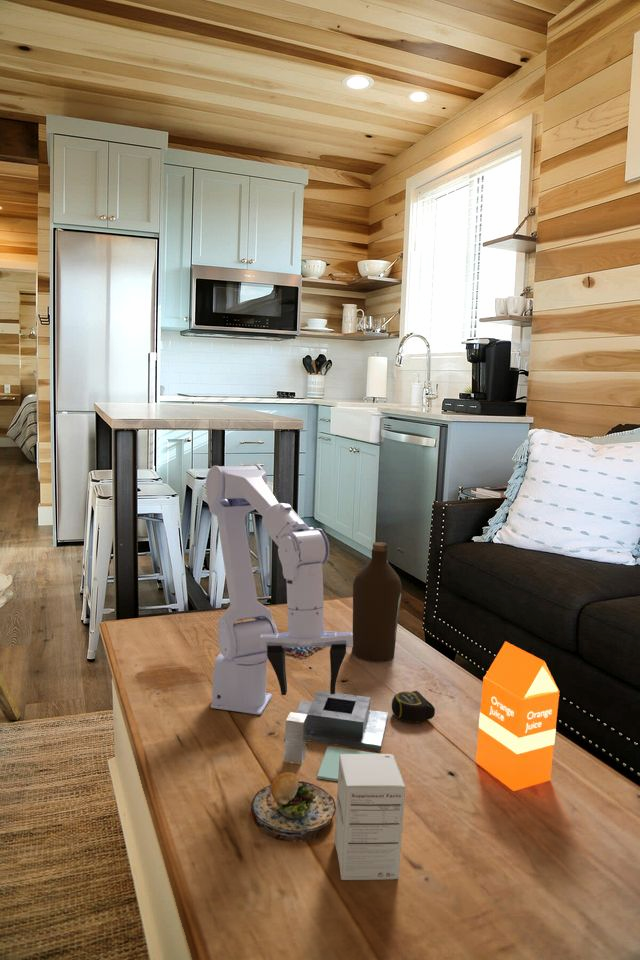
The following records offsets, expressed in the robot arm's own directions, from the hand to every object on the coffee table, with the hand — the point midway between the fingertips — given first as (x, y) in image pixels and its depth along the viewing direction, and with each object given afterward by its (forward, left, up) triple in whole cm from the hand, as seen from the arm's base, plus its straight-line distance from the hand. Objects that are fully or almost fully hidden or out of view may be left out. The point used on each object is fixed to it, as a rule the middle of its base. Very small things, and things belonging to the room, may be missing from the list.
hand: (308, 692), depth 111 cm
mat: (+8, -1, -11) cm, 13 cm away
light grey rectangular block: (-1, -1, -11) cm, 11 cm away
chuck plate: (+4, +11, -11) cm, 16 cm away
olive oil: (+6, +46, -11) cm, 48 cm away
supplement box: (+13, -22, -11) cm, 28 cm away
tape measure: (+16, +19, -11) cm, 27 cm away
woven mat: (-11, +45, -12) cm, 48 cm away
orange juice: (+33, +5, -11) cm, 35 cm away
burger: (+2, -15, -11) cm, 19 cm away
